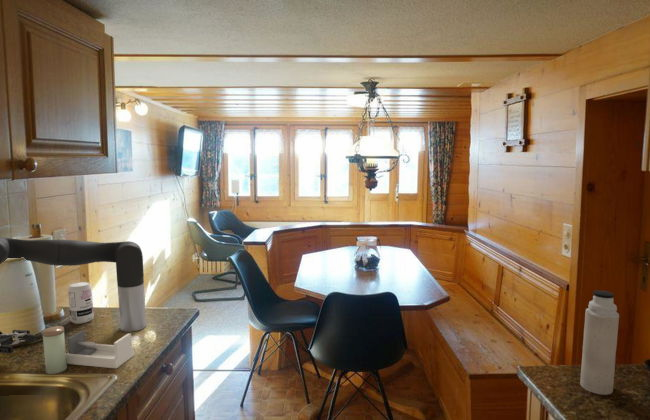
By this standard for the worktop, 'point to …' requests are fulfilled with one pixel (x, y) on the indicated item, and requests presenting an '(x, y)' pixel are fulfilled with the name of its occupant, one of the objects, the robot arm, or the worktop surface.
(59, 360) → the jar
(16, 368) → the worktop surface
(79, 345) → the pusher
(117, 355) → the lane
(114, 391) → the worktop surface
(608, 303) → the thermos bottle
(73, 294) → the supplement can
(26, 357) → the worktop surface
